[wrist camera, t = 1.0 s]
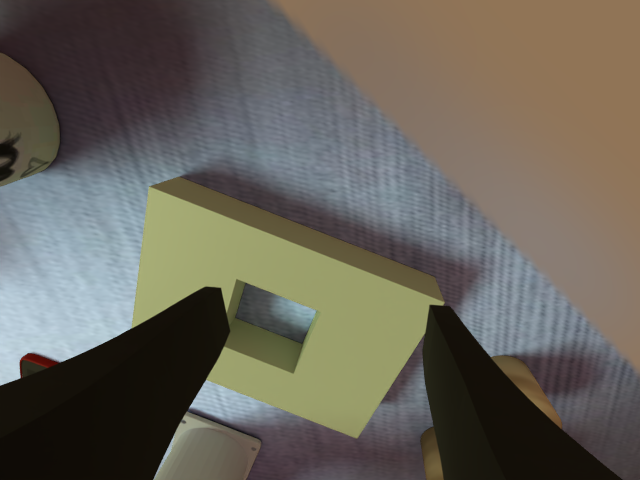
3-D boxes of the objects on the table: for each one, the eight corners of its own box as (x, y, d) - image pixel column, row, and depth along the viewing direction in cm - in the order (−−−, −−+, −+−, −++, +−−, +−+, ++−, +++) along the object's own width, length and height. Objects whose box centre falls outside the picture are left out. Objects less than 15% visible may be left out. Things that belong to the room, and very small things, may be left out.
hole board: (358, 403, 26) (357, 438, 23) (154, 324, 25) (128, 349, 23) (434, 276, 20) (444, 302, 18) (178, 176, 20) (149, 186, 18)
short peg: (509, 404, 23) (535, 458, 20) (460, 385, 23) (477, 435, 20) (542, 368, 22) (577, 419, 18) (489, 347, 22) (513, 394, 18)
